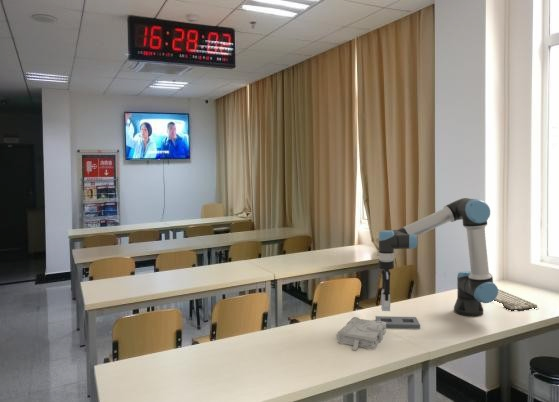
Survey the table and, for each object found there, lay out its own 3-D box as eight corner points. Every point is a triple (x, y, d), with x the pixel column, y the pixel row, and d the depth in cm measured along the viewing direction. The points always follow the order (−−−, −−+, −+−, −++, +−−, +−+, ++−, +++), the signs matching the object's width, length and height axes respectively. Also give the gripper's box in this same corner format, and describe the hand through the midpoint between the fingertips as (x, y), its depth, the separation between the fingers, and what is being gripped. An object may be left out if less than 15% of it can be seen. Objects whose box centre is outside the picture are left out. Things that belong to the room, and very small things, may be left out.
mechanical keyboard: (471, 294, 287) (471, 289, 287) (498, 292, 290) (498, 287, 290) (511, 313, 250) (511, 307, 250) (542, 311, 253) (542, 305, 253)
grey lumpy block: (332, 348, 206) (332, 331, 205) (350, 328, 231) (350, 313, 230) (373, 355, 198) (374, 338, 197) (388, 334, 223) (388, 319, 222)
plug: (389, 308, 235) (389, 288, 234) (390, 311, 231) (390, 290, 230) (381, 308, 235) (381, 288, 235) (382, 311, 231) (382, 290, 231)
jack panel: (415, 321, 238) (415, 316, 237) (420, 329, 226) (420, 324, 226) (375, 320, 240) (375, 316, 240) (377, 328, 228) (377, 323, 228)
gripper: (377, 257, 240) (376, 300, 242) (380, 263, 223) (380, 310, 225) (391, 257, 239) (391, 300, 241) (395, 264, 222) (395, 310, 224)
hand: (385, 304), depth 233 cm, fingers closed on plug, 4 cm apart
